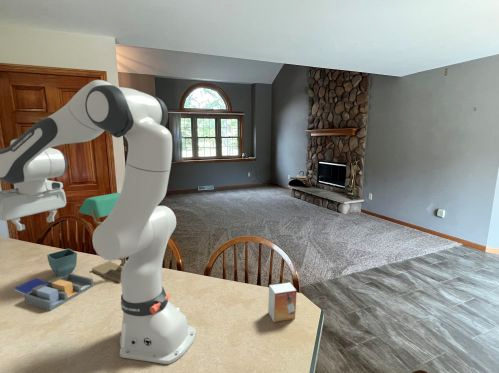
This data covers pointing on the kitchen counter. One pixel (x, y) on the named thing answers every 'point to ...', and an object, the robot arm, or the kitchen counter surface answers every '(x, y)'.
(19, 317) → the kitchen counter surface
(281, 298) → the small box
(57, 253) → the flower pot
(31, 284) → the hard drive
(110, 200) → the banker's lamp
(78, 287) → the grey compartment tray
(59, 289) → the orange plug
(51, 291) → the slate-blue plug
